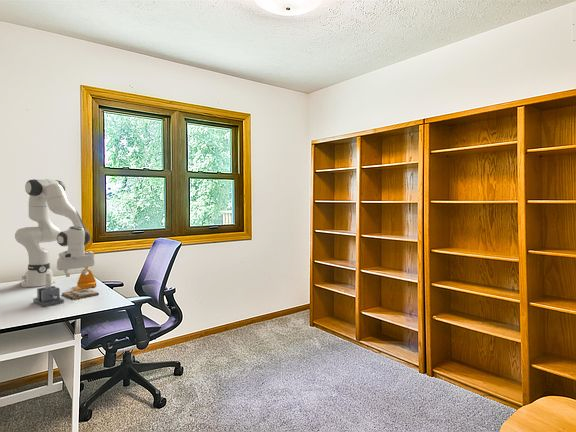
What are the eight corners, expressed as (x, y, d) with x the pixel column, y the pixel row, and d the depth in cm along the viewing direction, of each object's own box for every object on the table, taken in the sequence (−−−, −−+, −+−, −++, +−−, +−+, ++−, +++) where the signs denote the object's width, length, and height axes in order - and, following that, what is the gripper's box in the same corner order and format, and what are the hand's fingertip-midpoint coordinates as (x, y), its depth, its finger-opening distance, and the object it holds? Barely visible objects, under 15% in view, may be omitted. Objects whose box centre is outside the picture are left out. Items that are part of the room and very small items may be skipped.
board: (62, 295, 212) (62, 293, 212) (86, 290, 223) (86, 288, 223) (73, 299, 203) (73, 297, 203) (98, 294, 214) (98, 292, 214)
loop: (67, 292, 214) (67, 287, 214) (81, 289, 221) (81, 285, 221) (78, 296, 206) (78, 292, 205) (92, 293, 212) (92, 289, 212)
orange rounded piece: (77, 289, 226) (77, 270, 225) (77, 286, 232) (77, 268, 232) (96, 287, 232) (96, 269, 231) (95, 285, 238) (95, 267, 237)
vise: (33, 302, 197) (32, 273, 196) (53, 298, 205) (53, 271, 204) (45, 308, 187) (44, 278, 186) (66, 303, 195) (65, 275, 194)
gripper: (91, 250, 225) (91, 271, 226) (55, 254, 209) (55, 277, 210) (96, 251, 221) (96, 273, 222) (60, 255, 205) (60, 279, 206)
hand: (76, 275), depth 216 cm, fingers open, 8 cm apart
